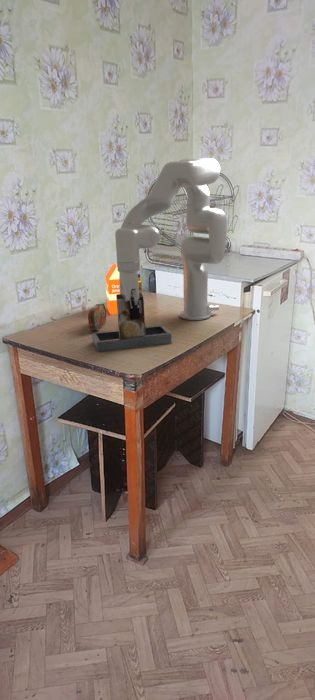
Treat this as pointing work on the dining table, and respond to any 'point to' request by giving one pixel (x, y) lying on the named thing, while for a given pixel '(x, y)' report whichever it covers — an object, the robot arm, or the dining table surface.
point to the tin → (97, 317)
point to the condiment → (140, 284)
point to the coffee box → (125, 323)
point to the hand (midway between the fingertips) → (131, 315)
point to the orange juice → (112, 288)
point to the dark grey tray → (131, 339)
